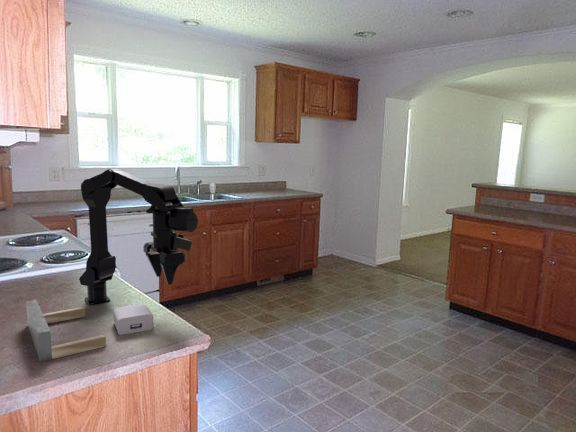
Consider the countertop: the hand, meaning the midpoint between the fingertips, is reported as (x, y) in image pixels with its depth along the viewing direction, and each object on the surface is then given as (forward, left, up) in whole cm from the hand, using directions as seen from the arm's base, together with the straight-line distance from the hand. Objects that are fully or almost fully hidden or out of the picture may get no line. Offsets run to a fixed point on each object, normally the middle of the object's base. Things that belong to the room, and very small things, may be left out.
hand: (164, 280), depth 127 cm
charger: (+1, -10, -11) cm, 15 cm away
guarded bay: (0, -27, -11) cm, 29 cm away
